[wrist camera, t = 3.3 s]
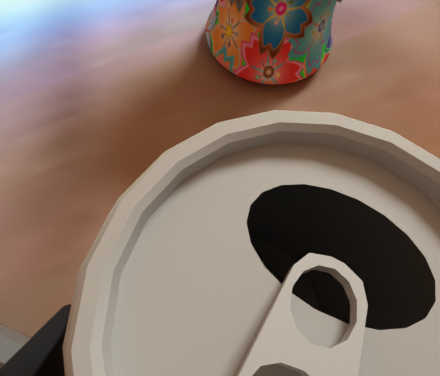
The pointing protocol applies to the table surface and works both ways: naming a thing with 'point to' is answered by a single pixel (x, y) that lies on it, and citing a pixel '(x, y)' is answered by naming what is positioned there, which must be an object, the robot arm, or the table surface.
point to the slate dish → (10, 343)
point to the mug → (271, 38)
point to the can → (267, 257)
